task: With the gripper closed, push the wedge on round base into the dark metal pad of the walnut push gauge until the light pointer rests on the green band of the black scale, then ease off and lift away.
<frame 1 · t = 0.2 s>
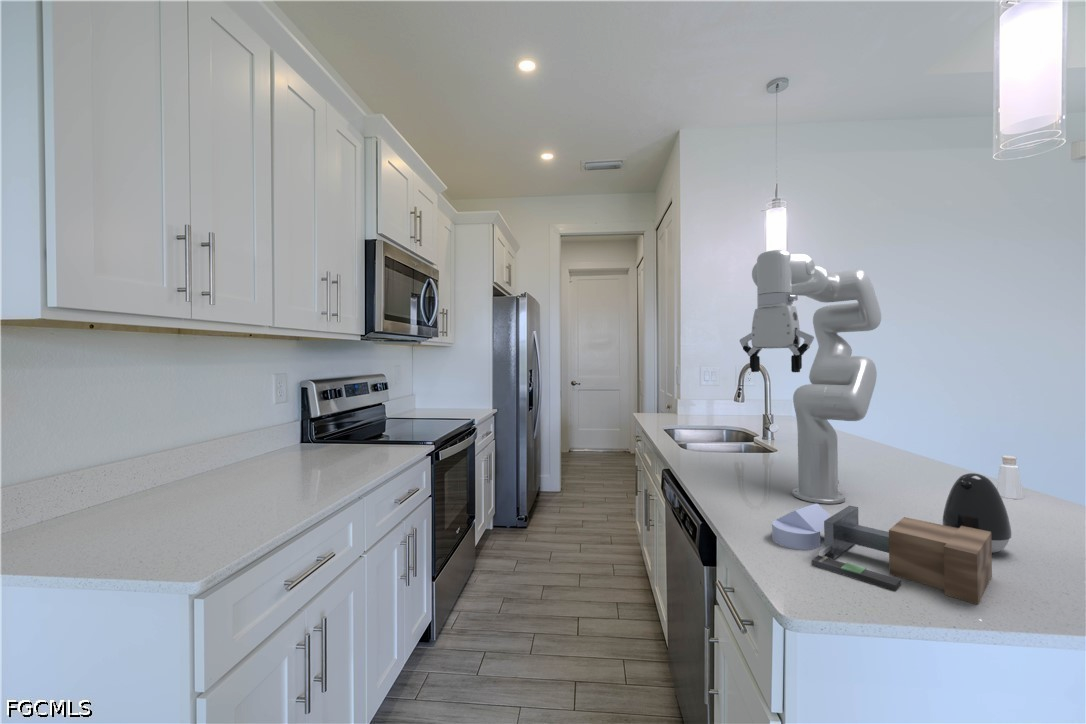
hand: (774, 372, 112), 36 cm above the counter, tool pointing down, fingers open, 9 cm apart
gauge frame: (910, 569, 84), on the counter
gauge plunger: (864, 539, 88), point 4 cm above the counter, slide at 0.0 cm
wedge on round base: (801, 540, 99), on the counter
salt shaker: (1009, 497, 125), on the counter
black egg-shaped piece: (975, 548, 93), on the counter
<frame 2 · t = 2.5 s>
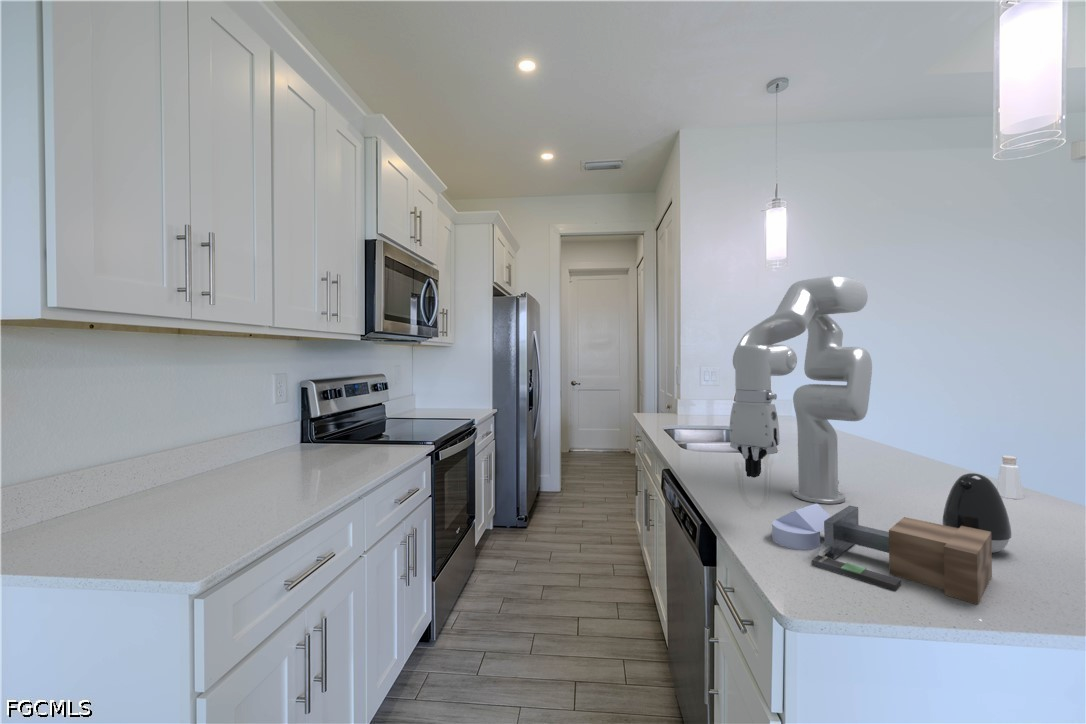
hand: (753, 476, 107), 12 cm above the counter, tool pointing down, fingers closed
nothing on the counter moved.
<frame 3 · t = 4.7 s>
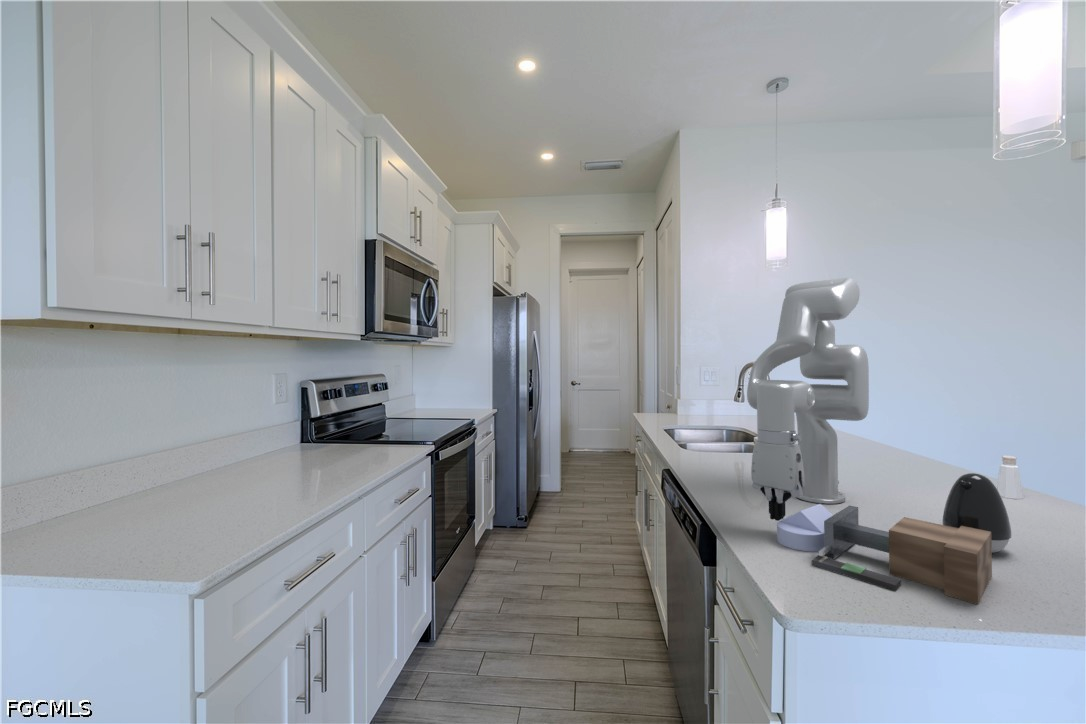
hand: (777, 518, 103), 3 cm above the counter, tool pointing down, fingers closed
wedge on round base: (805, 541, 98), on the counter, touching gripper
everything else where it was.
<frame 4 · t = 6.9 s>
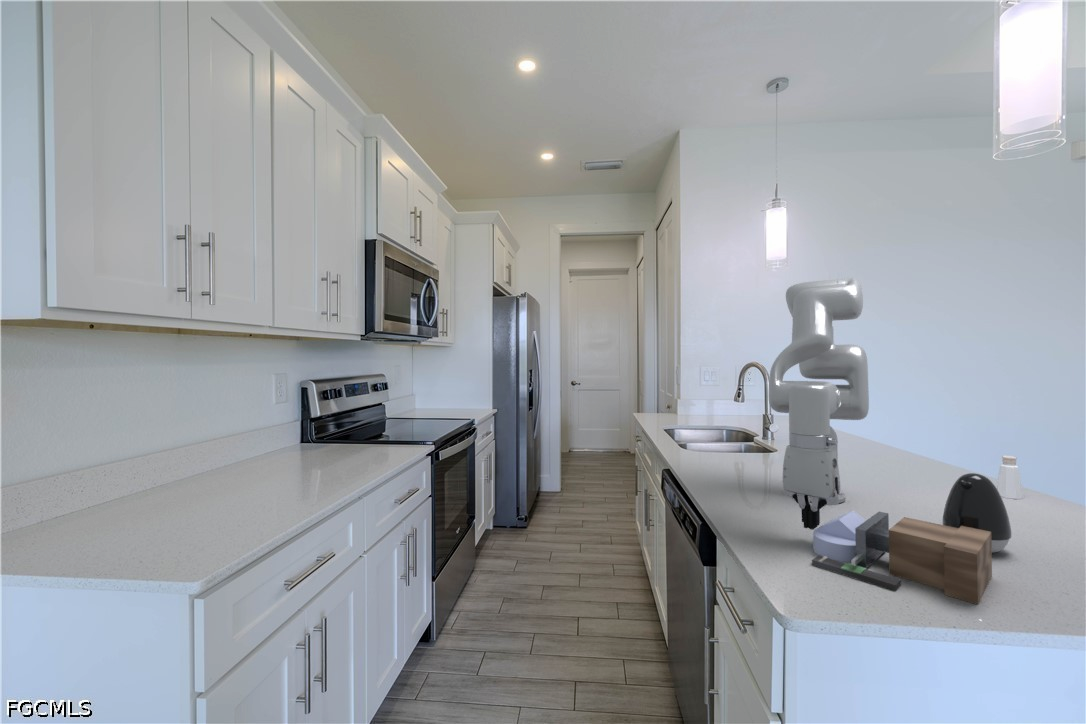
hand: (810, 527, 98), 3 cm above the counter, tool pointing down, fingers closed
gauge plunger: (897, 548, 84), point 4 cm above the counter, slide at 5.3 cm
wedge on round base: (842, 551, 93), on the counter, touching gripper
everything else where it was.
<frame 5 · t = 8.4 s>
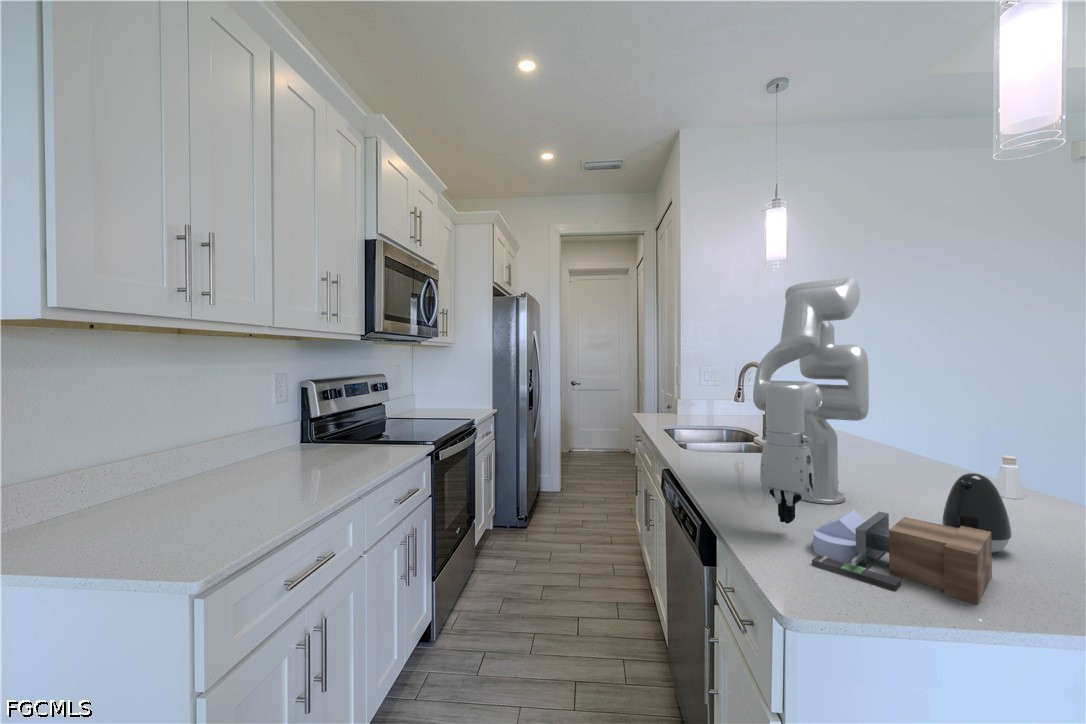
hand: (786, 521, 102), 3 cm above the counter, tool pointing down, fingers closed
wedge on round base: (842, 551, 93), on the counter
everything else where it was.
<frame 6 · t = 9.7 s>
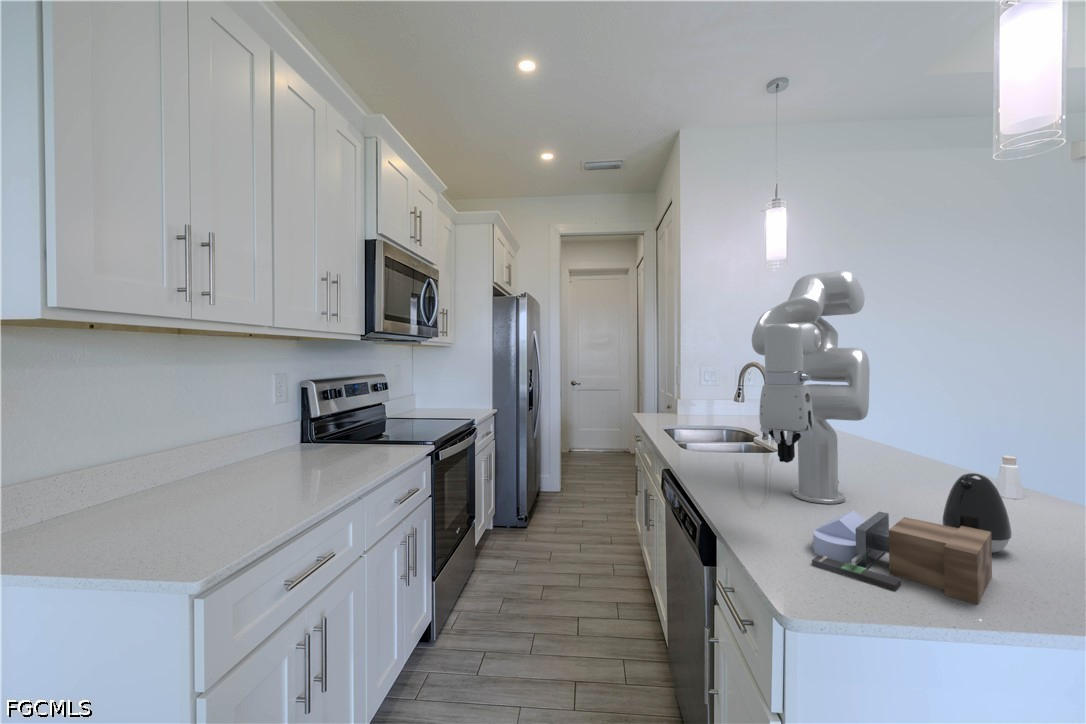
hand: (786, 460, 102), 16 cm above the counter, tool pointing down, fingers closed
nothing on the counter moved.
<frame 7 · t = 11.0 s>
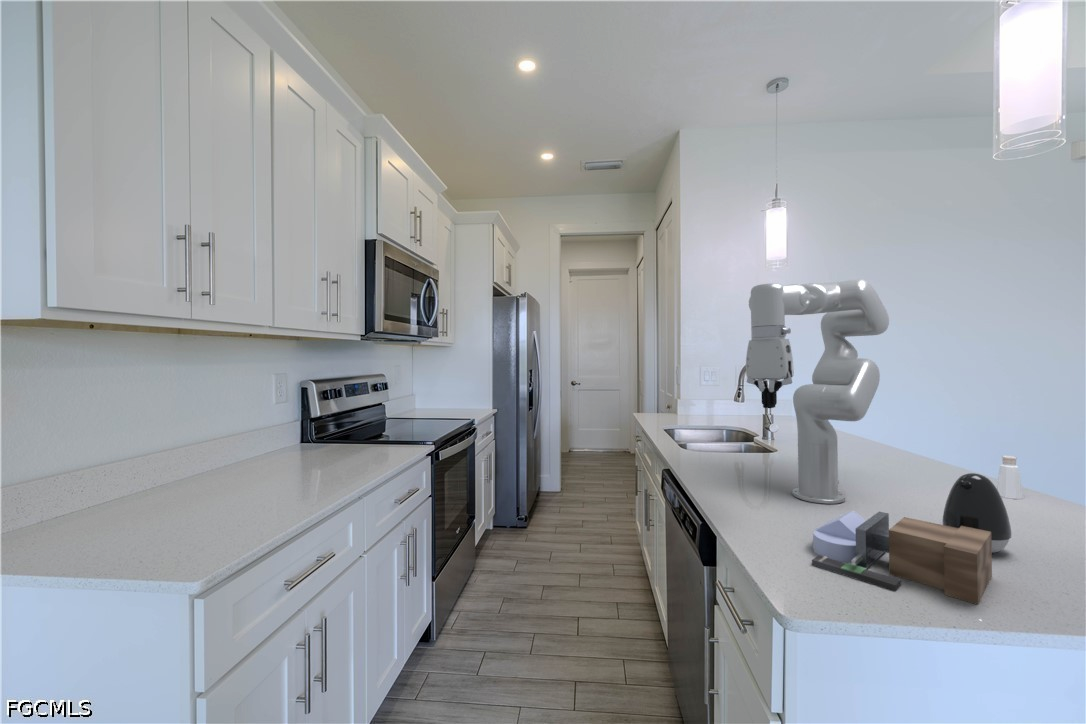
hand: (769, 407, 114), 27 cm above the counter, tool pointing down, fingers closed
nothing on the counter moved.
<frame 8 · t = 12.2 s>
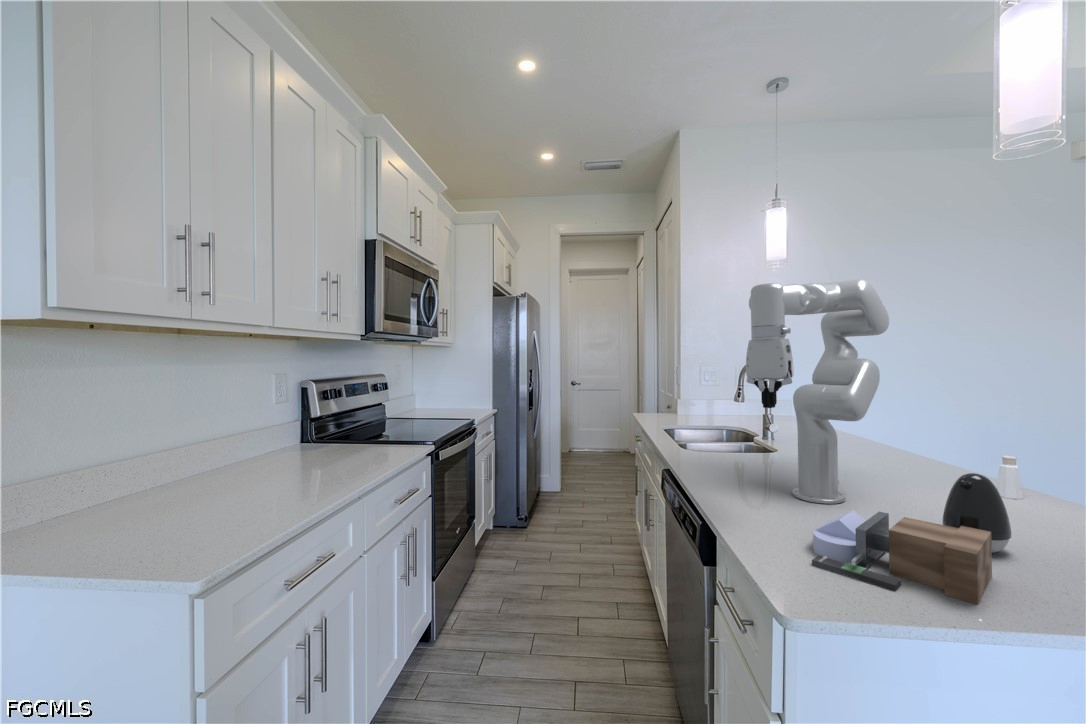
hand: (769, 407, 114), 27 cm above the counter, tool pointing down, fingers closed
nothing on the counter moved.
at the end: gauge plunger slide at 5.3 cm; wedge on round base moved 7.9 cm from its start; wedge on round base tilted 0° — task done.
